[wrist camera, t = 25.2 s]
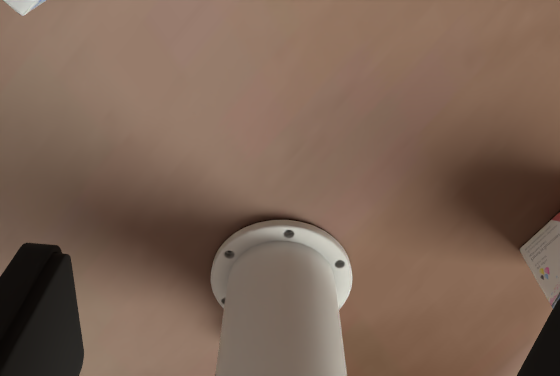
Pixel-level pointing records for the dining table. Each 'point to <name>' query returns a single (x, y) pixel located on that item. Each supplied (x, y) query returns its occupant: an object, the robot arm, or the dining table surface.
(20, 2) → the light bulb box
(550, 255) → the ink cartridge box
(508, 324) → the dining table surface
